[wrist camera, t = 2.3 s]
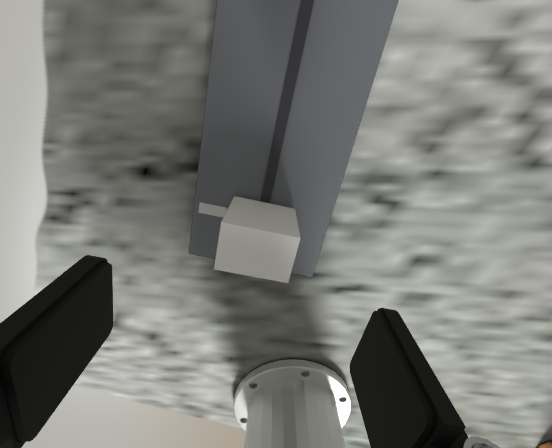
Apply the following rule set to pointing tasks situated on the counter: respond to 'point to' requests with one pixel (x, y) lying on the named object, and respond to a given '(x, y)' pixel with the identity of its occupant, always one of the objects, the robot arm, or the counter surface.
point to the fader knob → (258, 240)
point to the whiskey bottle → (546, 445)
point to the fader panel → (285, 110)
